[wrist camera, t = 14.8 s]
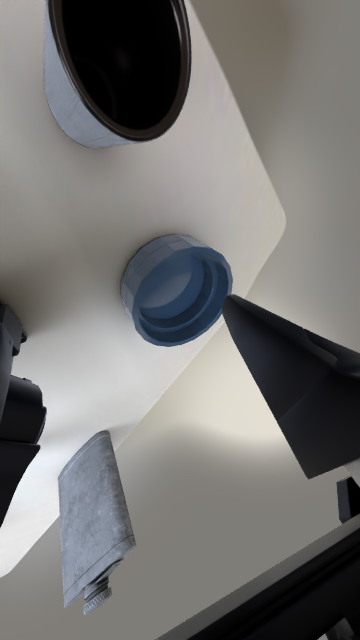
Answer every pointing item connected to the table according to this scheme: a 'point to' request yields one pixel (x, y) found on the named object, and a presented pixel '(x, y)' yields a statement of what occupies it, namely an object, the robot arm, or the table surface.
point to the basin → (175, 289)
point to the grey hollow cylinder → (116, 68)
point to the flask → (92, 522)
